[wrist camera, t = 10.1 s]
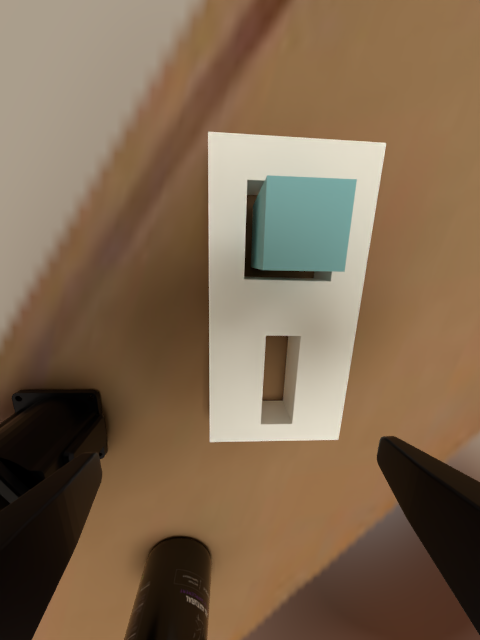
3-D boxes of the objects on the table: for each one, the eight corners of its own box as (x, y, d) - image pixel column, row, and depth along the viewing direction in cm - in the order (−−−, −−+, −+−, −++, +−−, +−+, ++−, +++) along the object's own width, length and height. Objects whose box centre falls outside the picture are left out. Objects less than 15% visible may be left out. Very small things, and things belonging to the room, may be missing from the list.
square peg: (250, 267, 17) (262, 270, 11) (252, 206, 16) (267, 175, 10) (305, 268, 17) (344, 271, 12) (310, 208, 16) (356, 179, 11)
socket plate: (212, 415, 20) (209, 442, 17) (211, 156, 15) (208, 131, 12) (322, 414, 21) (338, 439, 18) (357, 164, 16) (386, 142, 13)
